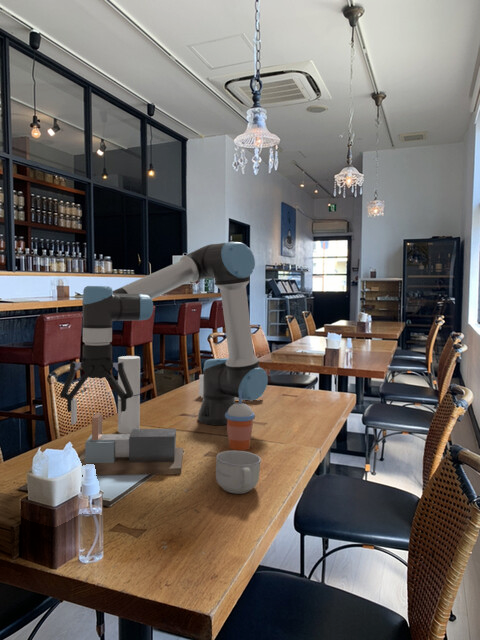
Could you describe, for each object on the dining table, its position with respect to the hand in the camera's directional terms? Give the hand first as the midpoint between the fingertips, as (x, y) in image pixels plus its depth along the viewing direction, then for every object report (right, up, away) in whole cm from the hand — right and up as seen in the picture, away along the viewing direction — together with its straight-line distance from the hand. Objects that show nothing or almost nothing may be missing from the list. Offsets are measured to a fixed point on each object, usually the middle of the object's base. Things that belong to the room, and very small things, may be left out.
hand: (97, 423), depth 125 cm
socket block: (+1, -10, +1) cm, 10 cm away
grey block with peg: (+5, -9, +1) cm, 10 cm away
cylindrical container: (+1, -10, +31) cm, 32 cm away
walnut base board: (+9, -11, +1) cm, 14 cm away
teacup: (+38, -13, -15) cm, 43 cm away
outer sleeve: (+15, -10, +2) cm, 18 cm away
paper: (+35, -8, +82) cm, 89 cm away
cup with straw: (+39, -11, +16) cm, 43 cm away
